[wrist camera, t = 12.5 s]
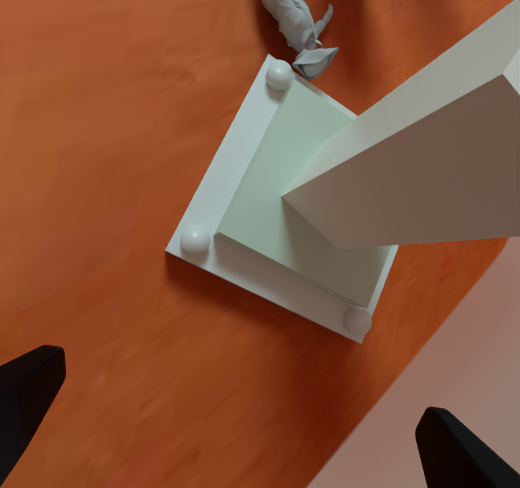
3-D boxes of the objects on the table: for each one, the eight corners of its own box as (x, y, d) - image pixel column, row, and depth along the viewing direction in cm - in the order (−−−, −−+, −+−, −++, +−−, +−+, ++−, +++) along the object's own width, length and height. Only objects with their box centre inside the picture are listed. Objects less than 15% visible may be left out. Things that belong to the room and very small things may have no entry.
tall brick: (337, 249, 18) (673, 225, 6) (280, 196, 18) (544, 50, 5) (378, 192, 19) (733, 78, 7) (326, 140, 19) (633, -89, 6)
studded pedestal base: (344, 337, 23) (381, 352, 19) (165, 251, 19) (165, 248, 16) (408, 173, 25) (452, 157, 21) (259, 72, 22) (279, 31, 18)
